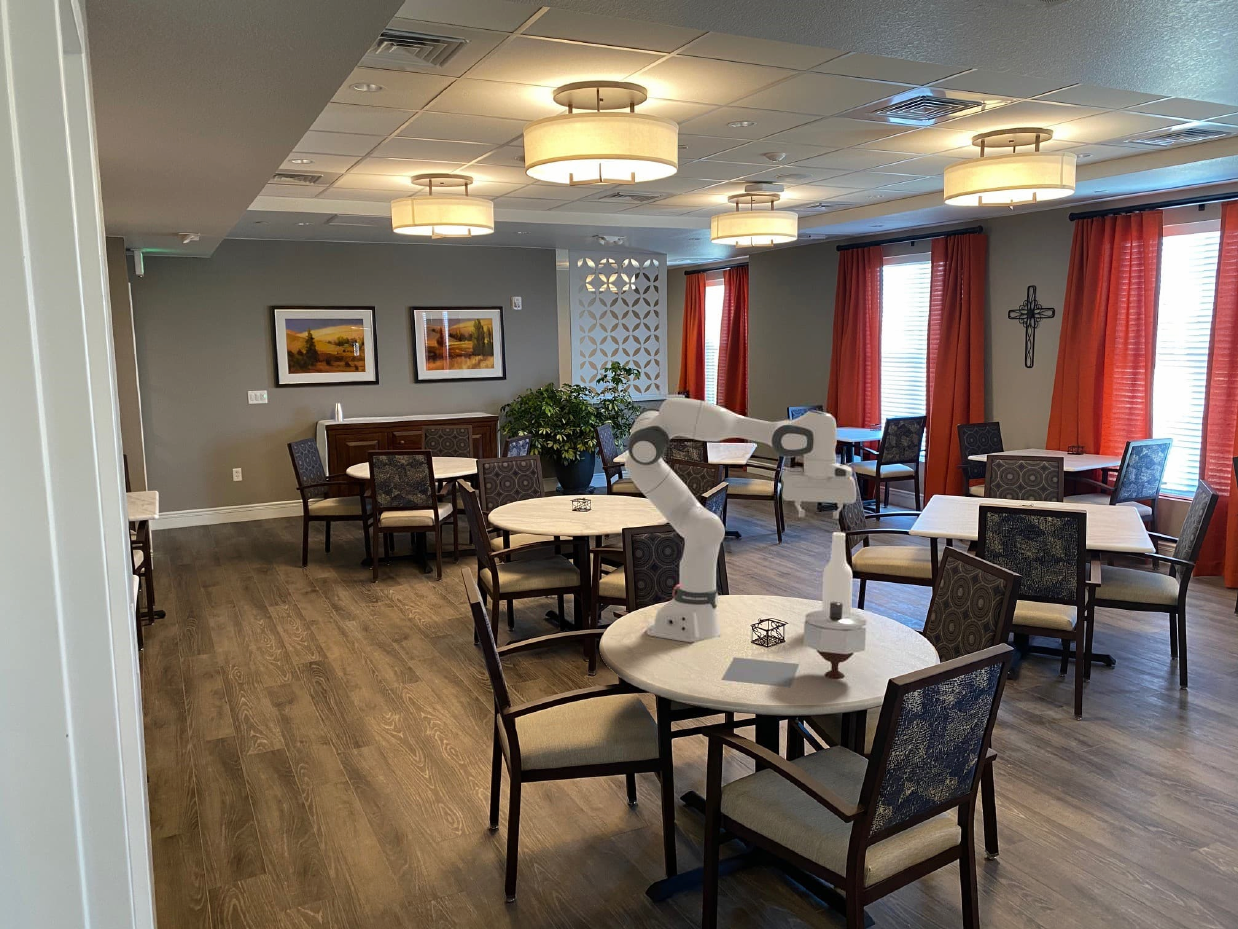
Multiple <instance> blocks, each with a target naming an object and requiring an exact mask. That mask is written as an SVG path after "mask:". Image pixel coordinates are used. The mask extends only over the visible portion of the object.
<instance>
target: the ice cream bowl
mask: <svg viewBox="0 0 1238 929" xmlns="http://www.w3.org/2000/svg"><path fill="white" fill-rule="evenodd" d="M816 652H817V653H818V654H819V655H820V656H821V657H822V658H823V659H824V660H825V661H826V662H830V664H831V667H830V668H831V669H830V670H828V671H826V672H825V673H824V674H823V676H825V677H826V678H828V679H832V680H841V679H844V678H845V677H846V675H845V674H844V673H843V672H841V671H840V670H839V665H840V663H844V662H846V661H847V660H849V659H850V658H851V657H852V656H853V655H854V653H849V654H840V653H831V652H821V651H818V650H816Z"/></svg>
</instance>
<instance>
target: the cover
mask: <svg viewBox="0 0 1238 929" xmlns="http://www.w3.org/2000/svg"><path fill="white" fill-rule="evenodd" d="M842 608H843V603H840V602H830V610H822V609H821V610H814V611H810V612H808V613H806V614H805V618H804V619H805V620H804V623H803V624H804V627H803V628H804V629H803V645H804V646H806V647H808V648H811V649H813V650H816V651H817V650H818V651H821V652H831V653H840V654H849V653H860V652H864V651H865V650H866V638H867V635H866V634H867V619H866V618H865V617H864V616H861V615H859V614H857V613H853V612H851V613H849V612H843V611H842Z"/></svg>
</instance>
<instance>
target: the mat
mask: <svg viewBox="0 0 1238 929" xmlns="http://www.w3.org/2000/svg"><path fill="white" fill-rule="evenodd" d="M799 665H800V663H796V662H795V663H794V662H793V663H792V662H784V661H774V660H773V661H772V660H765V659H755V658H754V659H753V658H746V657H745V658H744V657H737V656H736V657H735V656H734V657H733V658H732V660H731V662H730V664H729V666H728V667H727V669H726V671H725V673H724V675H722V677H721V681H729V682H738V683H748V684H755V685H765V686H766V685H767V686H773V687H775V686H776V687H784V688H791V687H792V686H793V682H794V680H795V677H796V674H797V670H798V668H799Z"/></svg>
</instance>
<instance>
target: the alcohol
mask: <svg viewBox="0 0 1238 929" xmlns="http://www.w3.org/2000/svg"><path fill="white" fill-rule="evenodd" d="M831 539H832V541H831V542H832V543H831V550H830V559H829V561H828V563H827V564H826V566H825V567H824V569H823V572H822V598H821V599H822V600H821V601H822V604H821V605H822V606H821V611H822V610H830V602H840V603H843V608H842V611H843V612H849V613H852V600H853V599H852V598H853V594H852V593H853V571H852V568H851V566H850V564H848V561H847V555H846V552H847V551H846V533H845V532H841V531H837V532H833V533H832V537H831Z"/></svg>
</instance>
